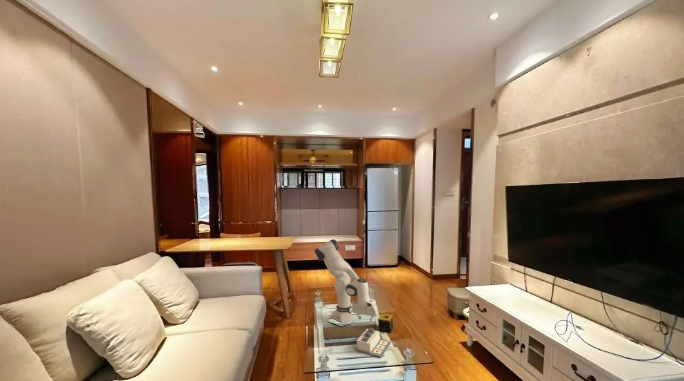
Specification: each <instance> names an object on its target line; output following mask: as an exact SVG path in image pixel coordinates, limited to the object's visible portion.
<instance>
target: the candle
mask: <svg viewBox="0 0 684 381" xmlns="http://www.w3.org/2000/svg"><path fill="white" fill-rule="evenodd" d="M393 319H394V318H393V314H387V313H386V314H385V313H380V314H379V317H378V318H377V323H378V325H377V327H378V328H377V331H379V333H385V332H387V333H386V334H391V333H392V332H393V328H394V322H393Z"/></svg>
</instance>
